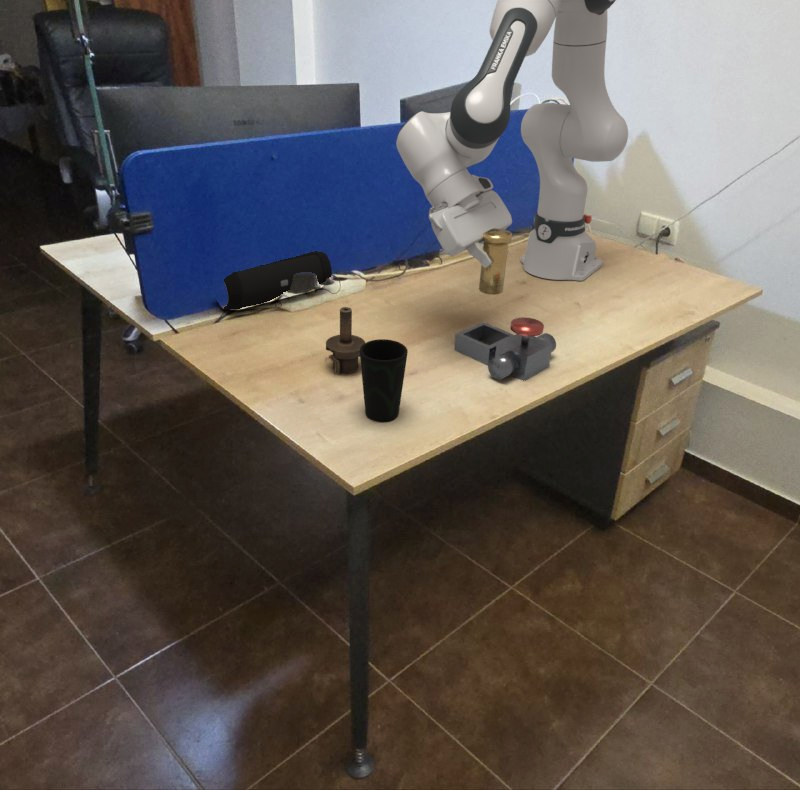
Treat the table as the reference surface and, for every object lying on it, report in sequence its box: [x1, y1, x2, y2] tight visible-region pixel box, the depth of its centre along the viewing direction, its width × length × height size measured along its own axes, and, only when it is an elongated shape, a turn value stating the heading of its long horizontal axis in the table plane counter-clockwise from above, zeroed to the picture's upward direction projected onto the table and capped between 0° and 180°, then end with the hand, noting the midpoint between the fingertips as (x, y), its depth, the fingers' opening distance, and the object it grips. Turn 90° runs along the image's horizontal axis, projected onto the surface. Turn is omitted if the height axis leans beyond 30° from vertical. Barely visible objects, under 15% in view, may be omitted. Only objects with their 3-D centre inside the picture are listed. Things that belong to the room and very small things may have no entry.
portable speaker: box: [223, 251, 333, 311], centre depth 155 cm, size 26×10×10 cm, turn 128°
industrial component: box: [325, 306, 366, 375], centre depth 128 cm, size 9×7×12 cm
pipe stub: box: [478, 228, 513, 296], centre depth 130 cm, size 5×5×11 cm
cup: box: [359, 338, 409, 423], centre depth 115 cm, size 8×8×12 cm
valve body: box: [453, 316, 557, 382], centre depth 134 cm, size 16×17×9 cm
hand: (497, 260), depth 129 cm, fingers closed on pipe stub, 4 cm apart
